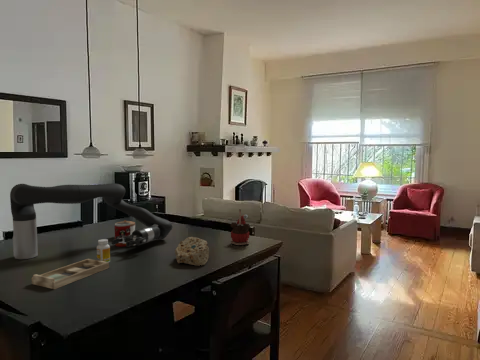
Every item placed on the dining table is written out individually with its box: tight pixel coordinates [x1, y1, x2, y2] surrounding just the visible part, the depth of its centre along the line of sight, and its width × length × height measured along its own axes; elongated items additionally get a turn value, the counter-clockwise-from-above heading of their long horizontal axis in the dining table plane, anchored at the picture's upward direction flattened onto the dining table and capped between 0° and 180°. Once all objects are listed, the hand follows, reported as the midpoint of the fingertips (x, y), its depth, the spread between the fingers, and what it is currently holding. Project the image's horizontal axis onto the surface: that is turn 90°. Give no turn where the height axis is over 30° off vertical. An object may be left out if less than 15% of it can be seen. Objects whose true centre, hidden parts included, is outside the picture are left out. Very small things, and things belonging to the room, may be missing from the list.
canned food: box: [114, 221, 130, 248], centre depth 193 cm, size 8×8×11 cm
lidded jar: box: [114, 219, 136, 235], centre depth 210 cm, size 11×11×9 cm
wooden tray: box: [31, 258, 110, 290], centre depth 147 cm, size 12×26×4 cm, turn 155°
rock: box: [174, 236, 210, 267], centre depth 169 cm, size 21×14×10 cm
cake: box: [230, 208, 251, 246], centre depth 195 cm, size 11×9×18 cm
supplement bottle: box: [96, 238, 111, 263], centre depth 164 cm, size 5×5×10 cm
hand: (119, 243), depth 173 cm, fingers open, 8 cm apart
